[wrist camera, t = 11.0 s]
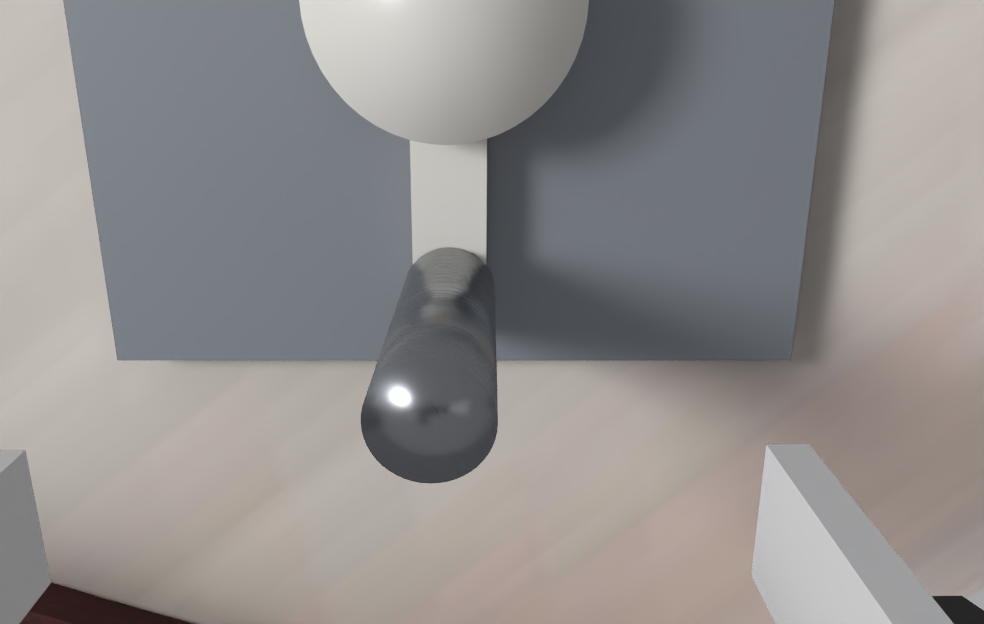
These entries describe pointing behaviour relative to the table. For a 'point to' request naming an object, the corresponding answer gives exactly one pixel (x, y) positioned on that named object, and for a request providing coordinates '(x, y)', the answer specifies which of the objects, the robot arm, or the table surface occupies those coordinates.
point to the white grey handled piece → (442, 196)
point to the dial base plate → (510, 186)
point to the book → (86, 610)
